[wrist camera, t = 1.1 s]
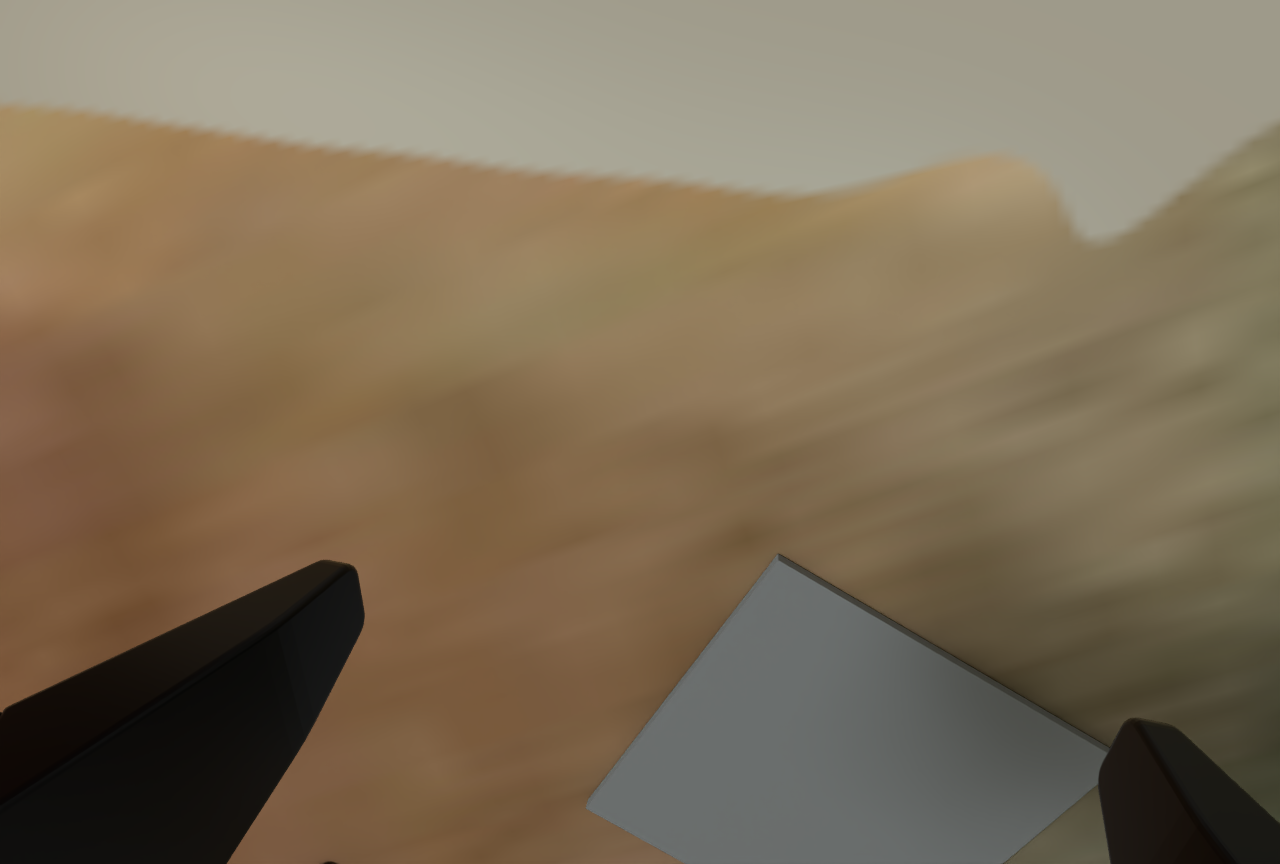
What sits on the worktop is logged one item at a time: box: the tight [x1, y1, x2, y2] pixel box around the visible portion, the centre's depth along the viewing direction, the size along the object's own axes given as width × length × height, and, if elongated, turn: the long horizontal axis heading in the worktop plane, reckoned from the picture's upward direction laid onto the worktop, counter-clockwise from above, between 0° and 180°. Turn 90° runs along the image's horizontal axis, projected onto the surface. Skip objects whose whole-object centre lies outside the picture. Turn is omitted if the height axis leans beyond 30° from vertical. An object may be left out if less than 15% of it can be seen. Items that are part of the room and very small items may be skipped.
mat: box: [586, 554, 1110, 864], centre depth 26 cm, size 13×13×1 cm
